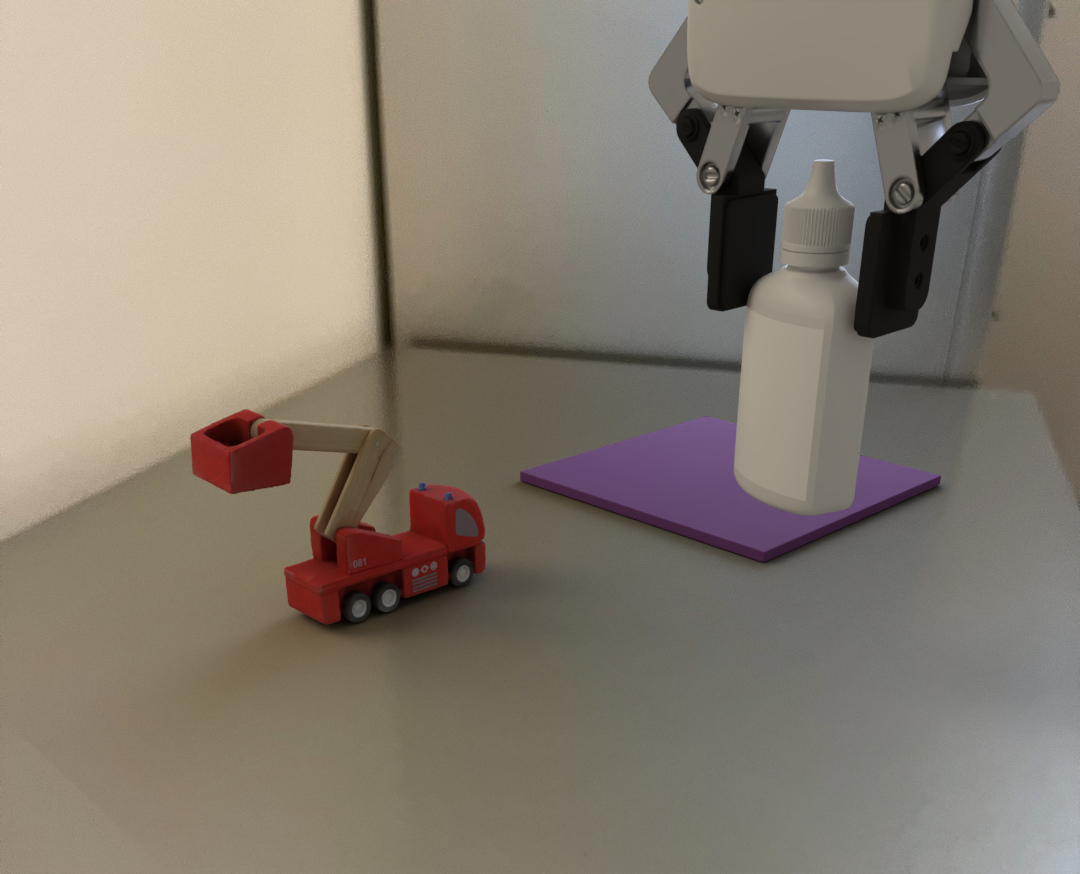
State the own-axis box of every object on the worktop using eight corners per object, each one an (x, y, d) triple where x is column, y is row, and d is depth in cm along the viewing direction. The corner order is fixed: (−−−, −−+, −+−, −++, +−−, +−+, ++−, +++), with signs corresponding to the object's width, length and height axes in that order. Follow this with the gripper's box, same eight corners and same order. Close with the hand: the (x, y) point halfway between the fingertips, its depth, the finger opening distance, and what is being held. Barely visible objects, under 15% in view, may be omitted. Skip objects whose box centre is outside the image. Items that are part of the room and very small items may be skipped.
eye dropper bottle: (738, 518, 45) (766, 168, 39) (731, 470, 50) (754, 152, 44) (856, 521, 44) (903, 168, 38) (837, 472, 49) (876, 152, 43)
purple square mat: (705, 423, 83) (706, 415, 83) (940, 484, 72) (941, 475, 72) (519, 480, 72) (519, 471, 72) (763, 563, 61) (764, 552, 61)
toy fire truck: (495, 577, 59) (493, 380, 54) (253, 660, 51) (225, 438, 46) (452, 558, 61) (446, 367, 56) (214, 635, 53) (183, 420, 48)
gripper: (1235, -364, 32) (1083, 337, 41) (717, -263, 42) (689, 275, 51) (1117, -427, 27) (976, 378, 36) (570, -296, 38) (568, 301, 47)
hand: (808, 312), depth 44 cm, fingers closed on eye dropper bottle, 5 cm apart
